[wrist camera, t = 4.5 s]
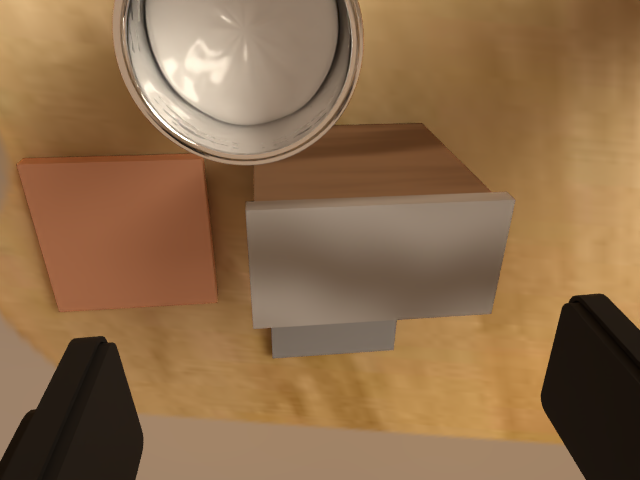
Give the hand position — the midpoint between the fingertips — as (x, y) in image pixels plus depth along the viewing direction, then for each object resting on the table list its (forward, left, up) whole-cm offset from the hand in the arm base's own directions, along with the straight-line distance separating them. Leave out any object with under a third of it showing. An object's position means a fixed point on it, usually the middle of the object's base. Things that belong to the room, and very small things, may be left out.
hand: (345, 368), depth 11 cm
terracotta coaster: (+8, -10, -21) cm, 25 cm away
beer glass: (-5, -2, -22) cm, 22 cm away
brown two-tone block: (+4, +3, -21) cm, 22 cm away
